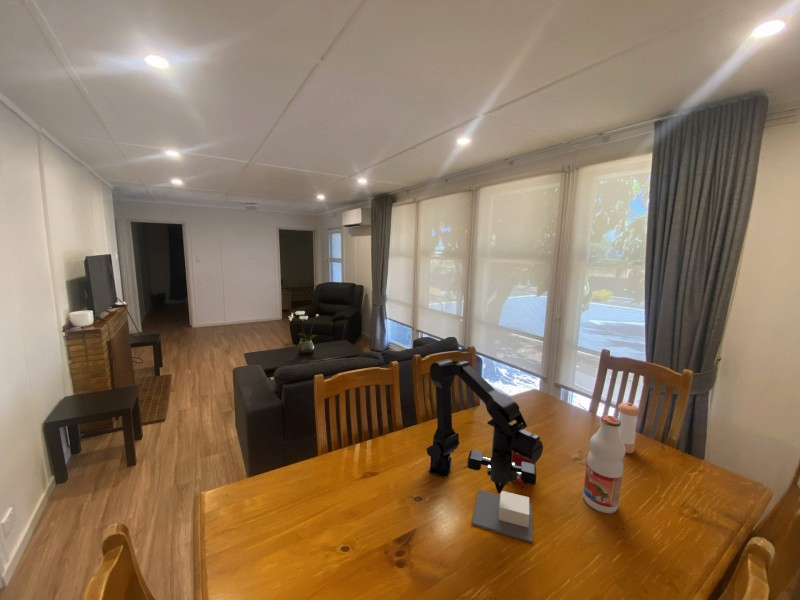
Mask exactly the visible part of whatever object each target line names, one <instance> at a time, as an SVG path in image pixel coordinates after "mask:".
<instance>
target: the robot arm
mask: <svg viewBox="0 0 800 600" xmlns="http://www.w3.org/2000/svg"><path fill="white" fill-rule="evenodd" d="M429 374H430V380H431V381H432V383H433V385H434V386H435V393H436V396H435V397H436V398H435V399H436V421H437V428H436V430H435V433H434V435H433V439H432V440H433V441H432V445H430V446H428V447H427V448H426V453H427V454H426V455H428V456H429V457H430V464H429V465H430V466H429V470H428V473H430V474H433V475H437V476H441V477H444V478H448V476H449V473H450V472H451V469H452V462H453V461H452V460H453V459H452V457H451V454H452V453H455V452H454V451H456V450H457V449H458V448H459V445H460V440H459V438H460V437H459V435H460V434H459V433H458V432H456V431H455V430H454V428H453V419H452V418H453V416H452V414H453V413H452V388H451V387H452V385H453V382H454V380H455V378H456V377H455V376H458V377H459V378H460V380H462V382H464V383H465V384H466V385H467V387H468V388H469V389H471V391H472V392H473V393H475V395H476V396H477V397H478V398H479V400H480V401H482V402H483V404H484V405H485V407H486V411H487V413H488V414H489V416H490V417H491V418H492V419H490V420H488V421H487V425H490V426H491V427H493V433H492V434H493V435H492V449H491V457H490V458H488V457H484V452H483V451H480V450H475V449H472V450H470V451H469V455H468V458H467V465H466V467H467V469H470V470H473V471H480V470H481V469H482V465H483V466H486V468H487V471H486V474H487V476H489V477H490V480H491V482H492V483H494V485H495V489H496V491H497V494H501V492H502V491H504V490H503V489H504V488H505V486H508V485H509V483H514V482H516V481H517V474H520V475H521V480H522V481H523V482H524V483H528V484H527V485H532V486H534V485H536V484H537V466H536V465H534V464H531V463H527V462H521V466H516V465H515V464H514V463H512V458H513V451H514V452H516V453H517V454H519V455H521V456H523V457H525V458H527V459H528V460H530V461H532V462H534V463H535V462H536V463H537V462H538V461H539V459H540V458H541V456H542V454H543V451H544V445H543V442H542V441H541V437H540V436H539V435H537V434H535V433H532V432H530V431H528V430H526V428H527V427H528V424H527V423H526V421H525V418H524V416H523V414H522V413H521V411H520V406H519V404H518V403H517V402H516V401H515V400H513V399H512V398H511V397H509V396H508V395H507V394H504V393H501V392H499V391H498V390H496V389H495V388H493V386H492V385H491V384H490V383H489V382H487V381H486V379H484V378H483V376H482V375H480V374H479V372H478V371H476V370H475V369H474V368H473V367H472V366H471V364H470V362H469V361H466V360H461V361H460V360H455V361H452V360H451V359H449V358H445V359H442V360H438V361H434V362H432V363H431V365H429ZM514 421H515V423H513V424H511V423H512V422H514Z"/></svg>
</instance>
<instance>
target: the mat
mask: <svg viewBox="0 0 800 600" xmlns="http://www.w3.org/2000/svg"><path fill="white" fill-rule="evenodd" d="M500 495H501V494H498V493H497V494H496V493H493V492H489V491H487V490H482V489H478V490H477V496H476V500H475V505H474V510H473V516H472V520H471V521H472V522H471V525H472V526H474V527H475V526H476V527H479V528H482V529H484V530H485V529H486V530H488V531H492V532H495V533H498V534H501V535H505V536H507V537H511V538H513V539H518V540H521V541H525V542H528V543H531V544H533V543H534V542H533V538H534V537H533V503H530V502H529V528H528V527H524V526H520V525H516V524H513V523H509V522H505V521H502V520H499V504H500Z"/></svg>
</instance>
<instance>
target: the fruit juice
mask: <svg viewBox="0 0 800 600" xmlns="http://www.w3.org/2000/svg"><path fill="white" fill-rule="evenodd" d="M600 422H601V425H600V427H599V429H598V430H597V431H596V433H594V434H592V436H590V437H591V438H590V441H589V445H590V446H589V447H590V451H589V452H588V454H587V459H586V468H585V473H584V474H585V475H584V482H583V483H584V484H583V492H582V497H583V499H584V502H585V503H586V504H587V505H588V506H589V507H591V508H592V509H594V510H595V511H598V512H600V513H603V514H604V513H605V514H613V513H615V512H617V510H618V507H619V501H620V495H621V489H622V488H621V487H622V482H623V475H624V462H623V459H624V457H625V456H626V453H625V446H624V444H623V442H622V441H621V439H620V435H619V427H620V425H621V422H620V420H619V418H617V417H615V416H611V415H608V414H606V415H605V414H604V415H602V416H601V418H600Z"/></svg>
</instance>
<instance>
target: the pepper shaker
mask: <svg viewBox="0 0 800 600" xmlns="http://www.w3.org/2000/svg"><path fill="white" fill-rule="evenodd" d="M617 409H618V412H619V413H618V414H619V415H618V419H619V420H620V422H621V425H620V427H619V435H620V439H621V441H622V442H623V444H624V446H625V454H634V453H635V449H636V448H635V447H636V442H635V440H636V434H637V433H636V422H637V416H639V414H640V412H641V411H640V409H639V407H638V406H636V405H634V404H633V403H631V402H621V403H619V404H618V406H617Z"/></svg>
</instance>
